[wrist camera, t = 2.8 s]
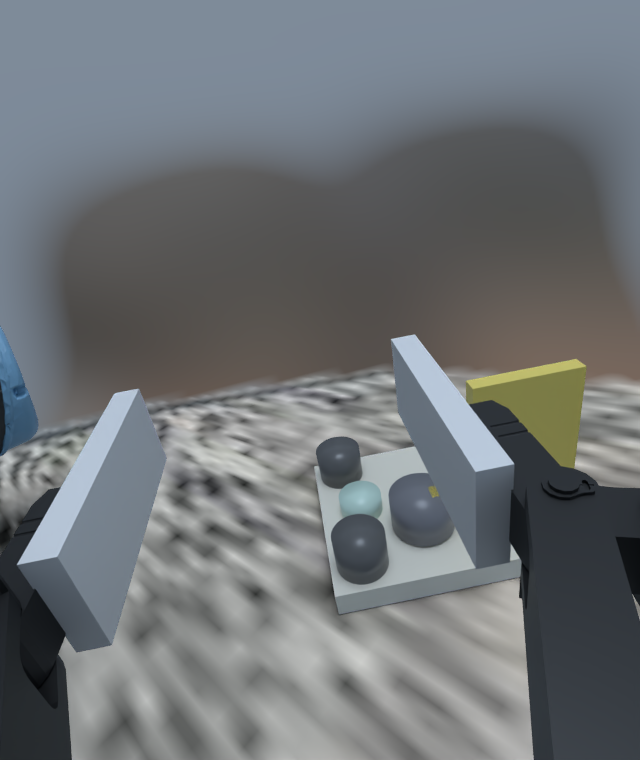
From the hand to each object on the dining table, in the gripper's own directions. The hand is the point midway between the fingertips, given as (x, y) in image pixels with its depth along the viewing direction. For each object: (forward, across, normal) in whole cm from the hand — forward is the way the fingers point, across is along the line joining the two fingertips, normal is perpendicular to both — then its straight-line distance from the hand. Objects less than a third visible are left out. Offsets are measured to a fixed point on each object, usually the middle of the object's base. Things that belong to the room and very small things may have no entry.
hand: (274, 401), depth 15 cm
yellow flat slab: (+14, +13, -22) cm, 29 cm away
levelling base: (+17, +9, -24) cm, 31 cm away
